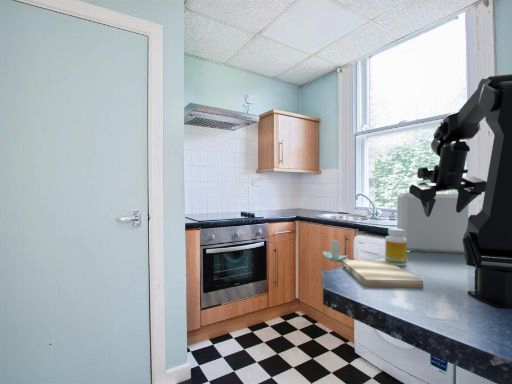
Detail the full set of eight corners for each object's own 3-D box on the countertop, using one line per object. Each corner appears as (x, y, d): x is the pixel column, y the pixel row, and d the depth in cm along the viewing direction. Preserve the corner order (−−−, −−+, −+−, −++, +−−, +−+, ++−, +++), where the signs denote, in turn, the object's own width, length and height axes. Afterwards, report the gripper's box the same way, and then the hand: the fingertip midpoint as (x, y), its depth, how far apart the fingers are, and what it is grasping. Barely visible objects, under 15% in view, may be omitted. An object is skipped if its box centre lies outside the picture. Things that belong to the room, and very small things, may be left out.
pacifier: (328, 257, 81) (320, 260, 76) (329, 237, 81) (321, 238, 76) (352, 261, 76) (345, 265, 72) (353, 240, 76) (346, 242, 72)
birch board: (423, 287, 55) (423, 280, 55) (365, 286, 55) (365, 279, 55) (386, 266, 71) (386, 260, 71) (341, 265, 71) (342, 259, 71)
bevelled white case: (455, 249, 95) (456, 194, 95) (470, 254, 87) (471, 194, 87) (394, 246, 98) (395, 193, 98) (403, 251, 90) (404, 193, 90)
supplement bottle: (409, 266, 71) (410, 231, 71) (387, 265, 72) (388, 230, 72) (402, 261, 76) (403, 228, 76) (382, 260, 77) (383, 227, 77)
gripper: (462, 152, 79) (452, 198, 85) (400, 160, 78) (396, 206, 84) (495, 162, 68) (482, 214, 74) (425, 171, 68) (418, 223, 74)
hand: (442, 214), depth 77 cm, fingers open, 9 cm apart
